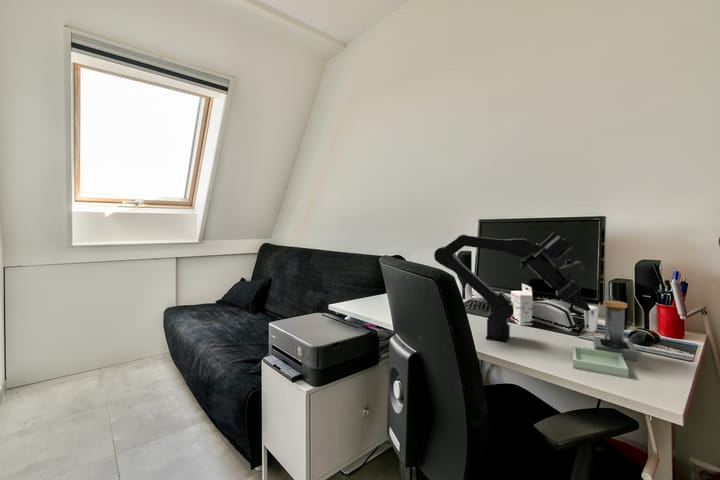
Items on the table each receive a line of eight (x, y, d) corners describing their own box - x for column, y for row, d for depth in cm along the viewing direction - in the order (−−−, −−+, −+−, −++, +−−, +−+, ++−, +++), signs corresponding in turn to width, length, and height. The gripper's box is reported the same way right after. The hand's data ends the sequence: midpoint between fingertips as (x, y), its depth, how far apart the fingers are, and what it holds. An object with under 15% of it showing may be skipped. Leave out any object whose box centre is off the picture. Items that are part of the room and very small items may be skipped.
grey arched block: (579, 329, 121) (573, 305, 119) (570, 335, 119) (564, 310, 117) (539, 317, 136) (533, 295, 134) (531, 323, 134) (525, 300, 133)
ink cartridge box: (509, 319, 135) (510, 283, 134) (522, 319, 135) (522, 283, 134) (519, 325, 126) (520, 287, 125) (532, 325, 126) (533, 287, 125)
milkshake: (604, 332, 117) (604, 304, 117) (588, 332, 117) (589, 304, 117) (595, 328, 122) (595, 301, 121) (580, 328, 122) (580, 301, 121)
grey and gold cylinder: (603, 353, 98) (604, 303, 98) (601, 347, 103) (602, 299, 103) (627, 357, 96) (628, 305, 95) (624, 350, 100) (625, 301, 100)
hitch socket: (595, 354, 98) (596, 346, 98) (593, 344, 106) (593, 336, 106) (637, 361, 93) (637, 352, 93) (631, 349, 101) (631, 341, 101)
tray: (573, 367, 89) (573, 359, 89) (571, 353, 99) (571, 346, 99) (628, 377, 83) (628, 369, 83) (620, 361, 93) (621, 353, 93)
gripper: (571, 254, 95) (618, 295, 91) (562, 249, 112) (601, 284, 108) (540, 280, 98) (583, 321, 94) (535, 271, 115) (572, 306, 111)
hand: (585, 306), depth 102 cm, fingers open, 9 cm apart
